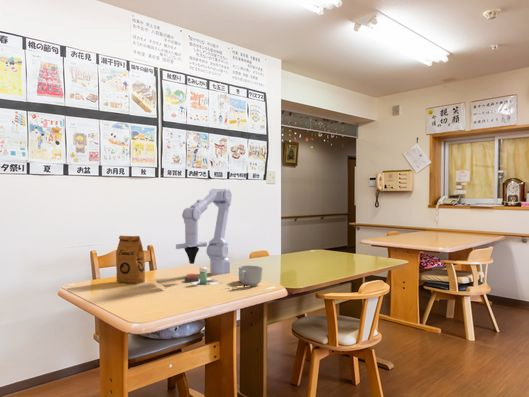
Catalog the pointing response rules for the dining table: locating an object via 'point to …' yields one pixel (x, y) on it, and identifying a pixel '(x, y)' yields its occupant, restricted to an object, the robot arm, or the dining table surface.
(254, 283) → the teacup
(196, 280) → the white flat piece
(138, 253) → the coffee package
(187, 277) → the button
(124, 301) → the dining table surface
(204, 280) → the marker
